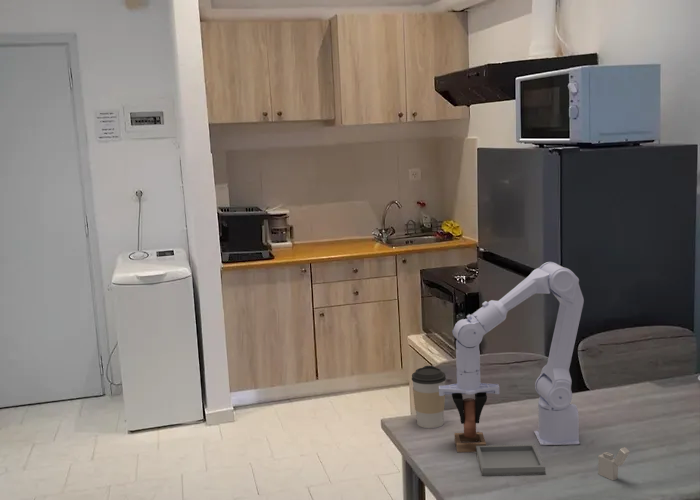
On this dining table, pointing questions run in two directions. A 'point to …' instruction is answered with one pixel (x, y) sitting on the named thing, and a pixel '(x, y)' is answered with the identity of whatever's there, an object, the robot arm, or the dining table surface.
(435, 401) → the coffee cup
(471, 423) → the dowel
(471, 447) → the collar
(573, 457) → the dining table surface
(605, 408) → the dining table surface
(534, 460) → the tray
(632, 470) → the dining table surface
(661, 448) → the dining table surface
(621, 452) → the lighter
